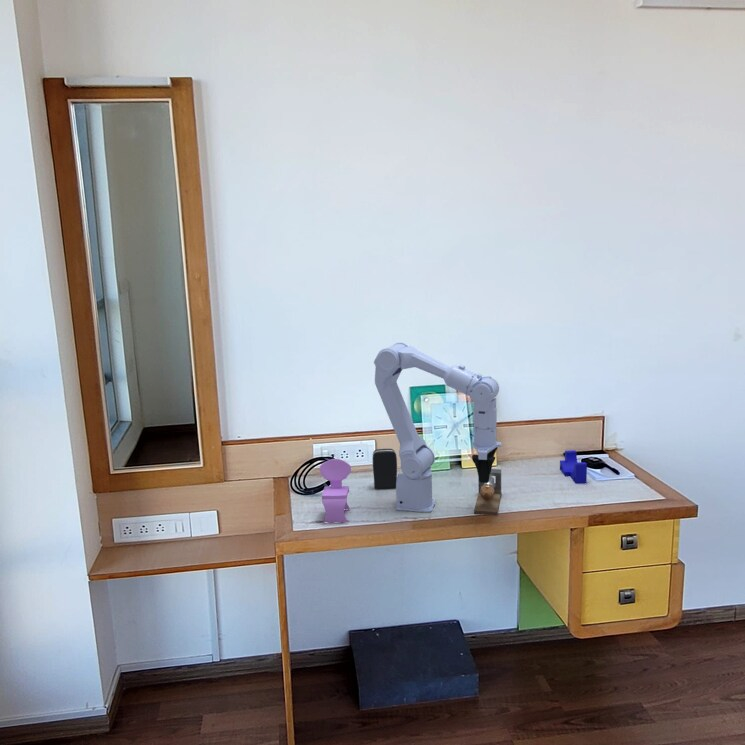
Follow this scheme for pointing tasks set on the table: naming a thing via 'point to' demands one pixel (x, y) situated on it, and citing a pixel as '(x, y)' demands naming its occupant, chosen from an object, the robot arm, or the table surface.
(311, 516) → the table surface
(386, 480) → the battery
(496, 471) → the housing
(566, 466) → the blue stepped block
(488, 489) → the light bulb
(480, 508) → the board
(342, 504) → the toy chair
